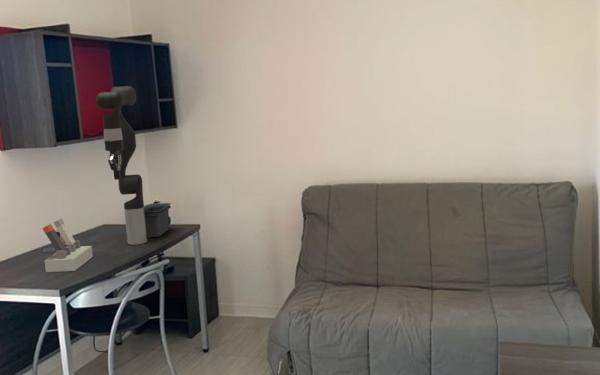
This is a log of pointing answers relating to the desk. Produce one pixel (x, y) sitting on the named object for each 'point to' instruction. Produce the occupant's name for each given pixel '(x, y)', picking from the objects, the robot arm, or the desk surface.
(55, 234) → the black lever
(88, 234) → the desk surface
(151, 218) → the storage bin
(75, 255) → the switch box
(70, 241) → the ivory lever
